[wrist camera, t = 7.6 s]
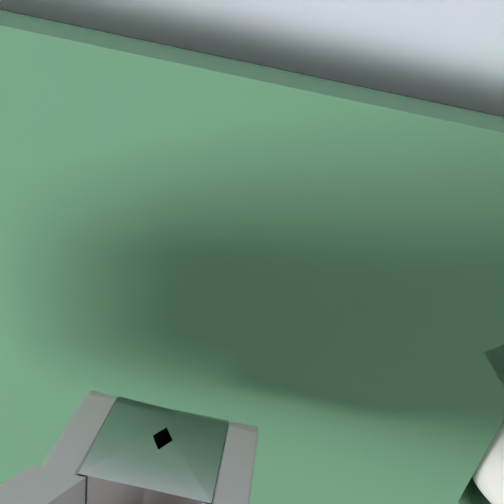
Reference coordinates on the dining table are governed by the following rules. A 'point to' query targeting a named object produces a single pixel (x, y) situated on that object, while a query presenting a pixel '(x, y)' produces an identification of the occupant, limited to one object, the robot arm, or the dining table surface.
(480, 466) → the golf ball
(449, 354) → the putting mat
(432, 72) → the dining table surface
